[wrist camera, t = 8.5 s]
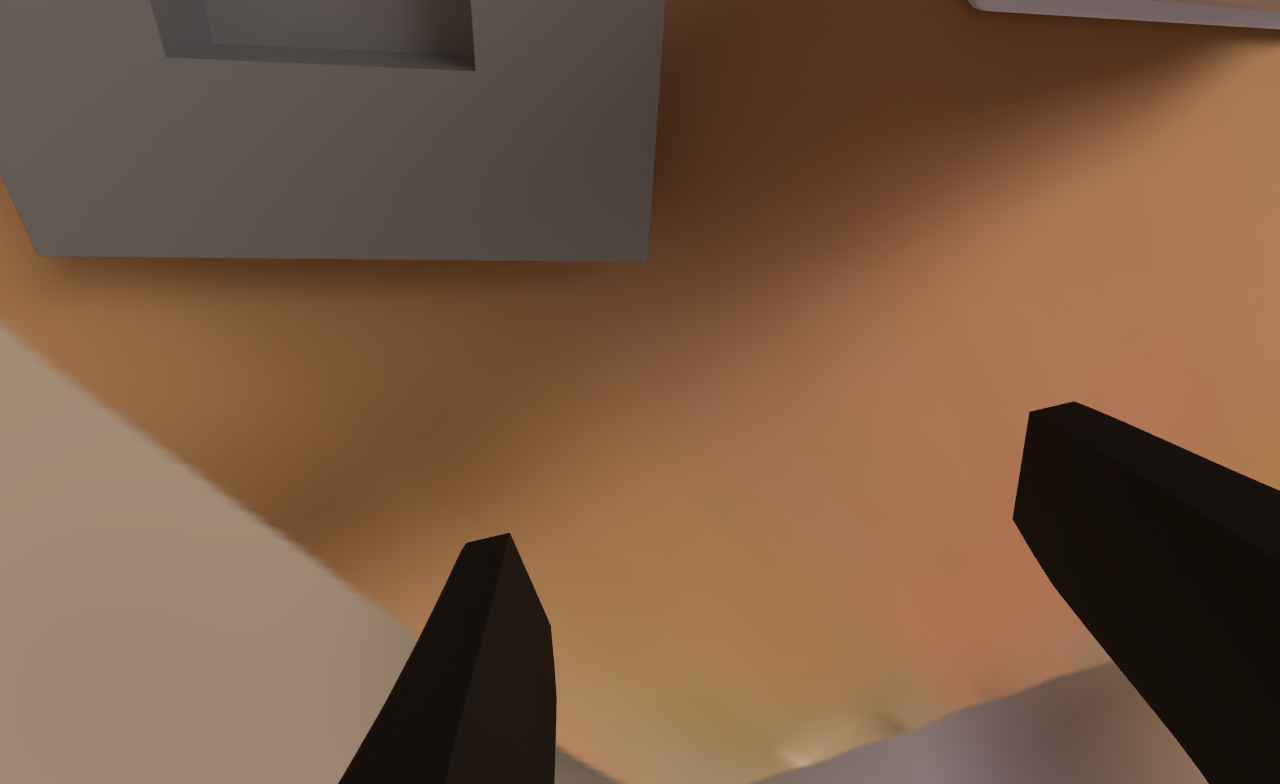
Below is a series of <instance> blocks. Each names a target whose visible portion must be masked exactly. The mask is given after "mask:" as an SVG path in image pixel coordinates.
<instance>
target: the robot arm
mask: <svg viewBox="0 0 1280 784" xmlns="http://www.w3.org/2000/svg"><path fill="white" fill-rule="evenodd" d="M968 2H969V3H970V4H971V5H972V6H973V8H976V9H979V10H984V11H994V12H1010V13H1026V14H1042V15H1058V16H1074V17H1090V18H1106V19H1122V20H1138V21H1154V22H1171V23H1187V24H1203V25H1219V26H1235V27H1251V28H1267V29H1280V0H968ZM1013 521H1014V522H1015V524H1016V526H1017V527H1018V529H1019V531H1020V532H1021V534H1022V536H1023V538H1024V539H1025V541H1026V543H1027V544H1028V546H1029V548H1030V549H1031V551H1032V553H1033V555H1034V556H1035V558H1036V559H1037V561H1038V562H1039V564H1040V566H1041V567H1042V569H1043V570H1044V572H1045V573H1046V575H1047V577H1048V578H1049V580H1050V581H1051V583H1052V584H1053V586H1054V587H1055V588H1056V590H1057V591H1058V592H1059V593H1060V595H1061V596H1062V597H1063V599H1064V600H1065V601H1066V602H1067V604H1068V605H1069V606H1070V607H1071V609H1072V610H1073V611H1074V613H1075V614H1076V615H1077V616H1078V618H1079V619H1080V620H1081V621H1082V623H1083V624H1084V625H1085V626H1086V628H1087V629H1088V630H1089V631H1090V633H1091V634H1092V635H1093V636H1094V638H1095V639H1096V640H1097V641H1098V643H1099V644H1100V645H1101V646H1102V648H1103V649H1104V650H1105V651H1106V653H1107V654H1108V655H1109V656H1110V657H1111V659H1112V660H1113V661H1114V662H1115V664H1116V665H1117V666H1118V667H1119V669H1120V670H1121V671H1122V672H1123V674H1124V675H1125V676H1126V677H1127V679H1128V680H1129V681H1130V682H1131V683H1132V685H1133V686H1134V687H1135V688H1136V690H1137V691H1138V692H1139V693H1140V695H1141V696H1142V697H1143V698H1144V700H1145V701H1146V702H1147V703H1148V705H1149V706H1150V707H1151V708H1152V710H1153V711H1154V712H1155V713H1156V714H1157V716H1158V717H1159V718H1160V719H1161V721H1162V722H1163V723H1164V724H1165V726H1166V727H1167V728H1168V729H1169V731H1170V732H1171V733H1172V734H1173V736H1174V737H1175V738H1176V739H1177V741H1178V742H1179V743H1180V745H1181V746H1182V747H1183V749H1184V750H1185V751H1186V753H1187V754H1188V755H1189V757H1190V758H1191V759H1192V761H1193V762H1194V763H1195V765H1196V766H1197V767H1198V769H1199V770H1200V771H1201V773H1202V774H1203V776H1204V777H1205V779H1206V780H1207V782H1208V783H1209V784H1280V491H1279V490H1277V489H1274V488H1272V487H1270V486H1267V485H1265V484H1263V483H1260V482H1258V481H1256V480H1253V479H1251V478H1249V477H1247V476H1244V475H1242V474H1240V473H1237V472H1235V471H1233V470H1230V469H1228V468H1226V467H1224V466H1221V465H1219V464H1217V463H1215V462H1212V461H1210V460H1208V459H1206V458H1203V457H1201V456H1199V455H1197V454H1194V453H1192V452H1190V451H1188V450H1185V449H1183V448H1181V447H1179V446H1177V445H1174V444H1172V443H1170V442H1168V441H1165V440H1163V439H1161V438H1159V437H1156V436H1154V435H1152V434H1150V433H1147V432H1145V431H1143V430H1141V429H1138V428H1136V427H1134V426H1132V425H1129V424H1127V423H1125V422H1123V421H1120V420H1118V419H1116V418H1113V417H1111V416H1109V415H1106V414H1104V413H1102V412H1099V411H1097V410H1095V409H1092V408H1090V407H1087V406H1085V405H1082V404H1079V403H1077V402H1070V403H1065V404H1061V405H1057V406H1053V407H1048V408H1044V409H1040V410H1035V411H1031V412H1029V419H1028V425H1027V431H1026V438H1025V444H1024V450H1023V457H1022V463H1021V469H1020V476H1019V482H1018V488H1017V495H1016V501H1015V507H1014V514H1013ZM556 702H557V697H556V683H555V669H554V657H553V646H552V634H551V625H550V623H549V621H548V618H547V616H546V614H545V612H544V609H543V607H542V605H541V602H540V600H539V598H538V596H537V593H536V591H535V589H534V587H533V584H532V582H531V580H530V577H529V575H528V573H527V571H526V568H525V566H524V564H523V562H522V559H521V557H520V555H519V552H518V550H517V548H516V546H515V543H514V541H513V539H512V537H511V534H510V533H507V534H502V535H498V536H494V537H489V538H485V539H481V540H477V541H472V542H468V543H466V544H465V546H464V547H463V549H462V550H461V552H460V554H459V556H458V559H457V561H456V563H455V565H454V567H453V569H452V571H451V573H450V576H449V578H448V580H447V582H446V584H445V586H444V588H443V590H442V592H441V594H440V597H439V599H438V601H437V603H436V605H435V607H434V609H433V611H432V613H431V615H430V617H429V619H428V621H427V623H426V625H425V627H424V629H423V631H422V633H421V635H420V637H419V639H418V641H417V643H416V645H415V647H414V649H413V651H412V653H411V655H410V657H409V659H408V660H407V662H406V665H405V666H404V668H403V670H402V672H401V674H400V676H399V678H398V680H397V681H396V683H395V685H394V687H393V689H392V691H391V693H390V695H389V697H388V699H387V700H386V702H385V704H384V706H383V708H382V710H381V711H380V713H379V715H378V716H377V718H376V720H375V721H374V723H373V725H372V727H371V729H370V730H369V732H368V734H367V735H366V737H365V739H364V740H363V742H362V744H361V746H360V748H359V749H358V751H357V753H356V754H355V756H354V758H353V759H352V761H351V763H350V765H349V767H348V768H347V770H346V772H345V774H344V775H343V777H342V778H341V780H340V782H339V783H338V784H554V775H555V742H556Z"/></svg>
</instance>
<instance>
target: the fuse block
mask: <svg viewBox="0 0 1280 784" xmlns="http://www.w3.org/2000/svg"><path fill="white" fill-rule="evenodd" d="M665 4H666V0H0V173H1V176H2V178H3V180H4V182H5V184H6V187H7V189H8V191H9V193H10V196H11V198H12V200H13V202H14V204H15V207H16V209H17V211H18V213H19V216H20V218H21V220H22V222H23V224H24V227H25V229H26V231H27V233H28V236H29V238H30V240H31V242H32V244H33V247H34V249H35V251H36V253H37V256H63V257H165V258H266V259H368V260H469V261H570V262H648V253H649V238H650V224H651V209H652V195H653V180H654V165H655V151H656V136H657V121H658V107H659V92H660V77H661V63H662V48H663V33H664V19H665Z"/></svg>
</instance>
